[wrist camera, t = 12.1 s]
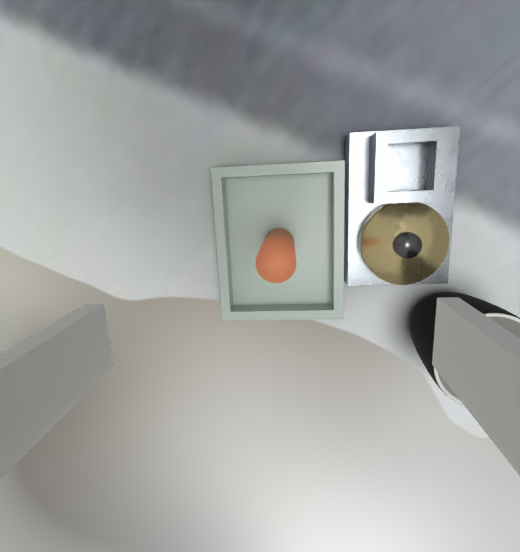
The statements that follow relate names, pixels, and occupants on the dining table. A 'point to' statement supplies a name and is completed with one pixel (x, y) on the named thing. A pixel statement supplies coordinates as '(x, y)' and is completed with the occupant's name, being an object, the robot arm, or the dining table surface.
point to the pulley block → (399, 205)
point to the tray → (288, 215)
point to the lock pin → (277, 256)
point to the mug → (425, 328)
